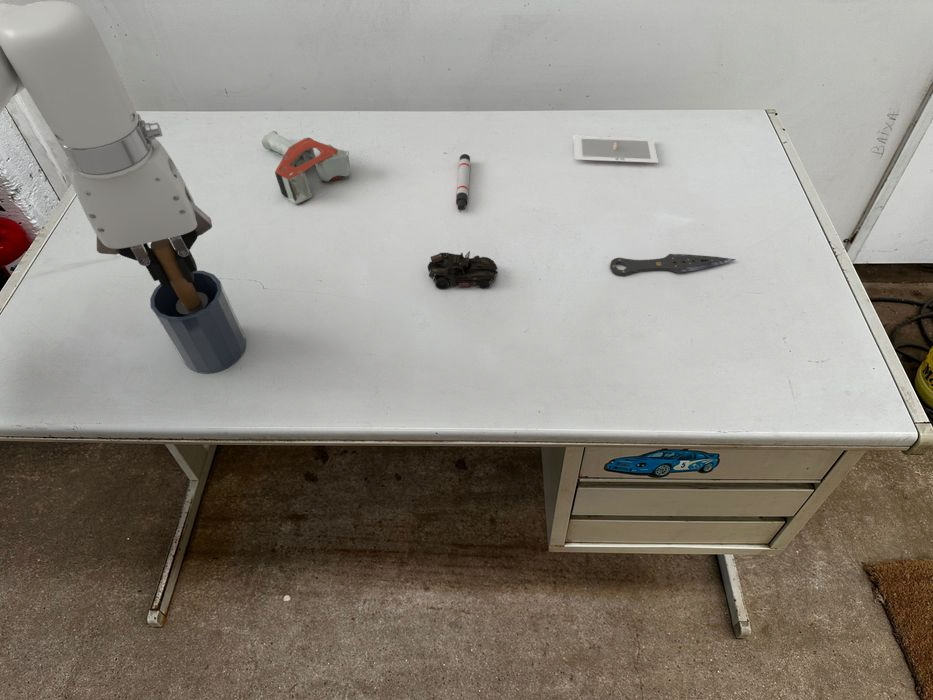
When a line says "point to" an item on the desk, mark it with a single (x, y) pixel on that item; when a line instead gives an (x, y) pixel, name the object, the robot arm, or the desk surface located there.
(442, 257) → the toy car
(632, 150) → the touchpad
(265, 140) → the tape dispenser
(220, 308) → the pen cup
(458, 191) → the marker
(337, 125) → the desk surface
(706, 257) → the throwing knife
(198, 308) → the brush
